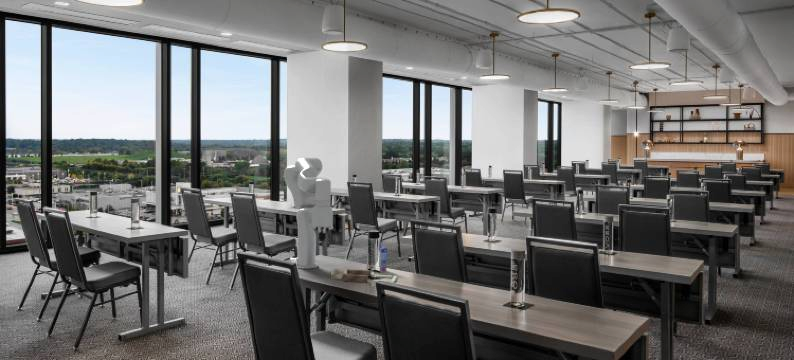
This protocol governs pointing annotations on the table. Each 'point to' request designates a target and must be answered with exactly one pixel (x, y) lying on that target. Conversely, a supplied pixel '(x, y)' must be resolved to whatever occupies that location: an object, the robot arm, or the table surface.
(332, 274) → the birch block
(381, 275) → the frame
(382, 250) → the ink cartridge box
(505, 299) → the table surface
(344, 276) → the corridor
